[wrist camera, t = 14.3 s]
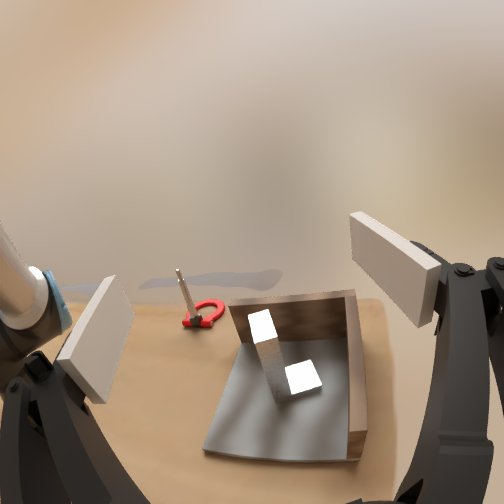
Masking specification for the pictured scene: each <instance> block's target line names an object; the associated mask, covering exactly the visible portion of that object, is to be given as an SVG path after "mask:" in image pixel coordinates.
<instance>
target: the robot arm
mask: <svg viewBox="0 0 504 504" xmlns="http://www.w3.org/2000/svg"><path fill="white" fill-rule="evenodd" d="M349 219H350V232H351V245H352V259H353V260H354V261H355V262H356V263H357V264H358V265H359V266H360V267H361V268H362V269H363V270H364V271H365V272H366V273H367V274H368V275H369V276H370V277H371V278H372V279H373V280H374V281H375V282H376V283H377V284H378V286H379V287H380V288H381V289H382V290H383V291H384V292H385V293H386V294H387V295H388V296H389V297H390V298H391V299H392V300H393V302H394V303H395V304H396V305H397V306H398V307H399V308H400V309H401V310H402V311H403V312H404V313H405V315H406V316H407V317H408V318H409V319H410V320H411V321H412V322H413V324H414V325H415V326H416V327H417V328H419V327H421V326H424V325H426V324H428V323H429V322H431V321H432V316H433V311H434V310H435V311H436V312H437V313H438V314H439V318H438V322H437V326H436V330H435V334H434V335H437V339H436V349H435V359H434V366H433V374H432V381H431V386H430V392H429V397H428V402H427V407H426V411H425V416H424V420H423V424H422V428H421V432H420V436H419V439H418V443H417V446H416V449H415V453H414V456H413V459H412V462H411V465H410V468H409V470H408V472H407V474H406V476H405V477H404V479H403V481H402V483H401V485H400V487H399V489H398V492H397V494H396V496H395V499H394V501H368V502H363V501H362V499H361V498H360V499H358V500H355V501H352V502H349V503H347V504H482V503H483V499H484V496H485V492H486V488H487V484H488V480H489V475H490V471H491V465H492V460H493V452H494V451H493V450H494V446H493V442H492V441H490V440H488V439H487V426H488V425H487V424H488V414H489V394H490V392H489V391H490V370H489V357H490V360H491V364H492V367H493V371H494V374H495V378H496V382H497V386H498V390H499V395H500V400H501V405H502V410H503V415H504V258H501V257H493V258H490V259H489V260H488V261H487V266H486V269H485V270H479V271H476V270H475V269H474V268H473V267H472V266H469V265H467V264H464V263H455V264H452V265H451V264H450V263H448V262H447V261H446V260H444V259H443V258H441V257H440V256H438V255H437V254H434V252H433V251H431V250H428V248H427V247H425V246H424V245H422V244H420V243H417V242H414V241H410V242H409V241H408V240H406V239H405V238H403V237H401V236H400V235H398V234H397V233H395V232H394V231H392V230H391V229H389V228H387V227H386V226H384V225H383V224H381V223H379V222H378V221H376V220H375V219H373V218H371V217H370V216H368V215H366V214H365V213H363V212H361V211H360V212H356V213H352V214H349ZM501 307H502V310H501ZM134 317H135V312H134V310H133V308H132V306H131V305H130V303H129V301H128V299H127V297H126V295H125V293H124V291H123V288H122V286H121V284H120V282H119V280H118V278H117V276H116V275H113V276H110V277H106V278H105V279H104V280H103V282H102V283H101V285H100V286H99V288H98V289H97V291H96V292H95V294H94V296H93V297H92V299H91V300H90V302H89V304H88V305H87V307H86V308H85V310H84V312H83V313H82V315H81V317H80V318H79V320H78V322H77V323H76V325H75V327H74V329H73V330H72V331H71V332H70V333H69V335H68V337H67V338H66V340H65V343H64V344H63V346H62V348H61V349H60V351H59V353H58V355H57V357H56V359H55V361H54V362H53V364H51V363H50V361H49V360H48V359H47V357H46V356H45V355H44V353H43V352H42V351H35V350H36V349H38V348H39V347H41V346H42V345H44V344H46V343H47V342H49V341H50V340H52V339H53V338H55V337H57V336H58V335H62V334H63V332H64V331H65V330H67V329H68V328H70V327H71V325H72V318H71V315H70V313H69V311H68V308H67V306H66V304H65V302H64V300H63V297H62V295H61V293H60V290H59V288H58V286H57V283H56V281H55V279H54V276H53V274H52V273H51V271H49V270H47V271H42V272H40V271H39V270H38V269H36V268H35V267H32V266H29V265H26V264H25V262H24V261H23V259H22V258H21V256H20V254H19V253H18V252H17V250H16V248H15V246H14V245H13V243H12V241H11V239H10V238H9V236H8V234H7V233H6V231H5V229H4V227H3V225H2V224H1V222H0V396H1V398H2V400H3V402H4V404H3V412H2V420H1V430H0V496H1V504H71V502H72V504H151V503H150V502H149V501H148V500H147V499H146V497H145V496H144V495H143V493H142V492H141V491H140V490H139V488H138V487H137V486H136V484H135V483H134V482H133V480H132V479H131V477H130V476H129V475H128V473H127V472H126V470H125V469H124V467H123V466H122V464H121V463H120V461H119V460H118V458H117V457H116V455H115V454H114V452H113V450H112V449H111V447H110V446H109V444H108V442H107V440H106V439H105V437H104V435H103V434H102V432H101V430H100V428H99V426H98V424H97V423H96V421H95V419H94V417H93V415H92V413H91V411H90V409H89V407H88V406H87V404H86V403H85V402H84V399H85V396H87V397H88V398H89V399H90V400H91V402H92V403H93V404H107V400H108V397H109V393H110V390H111V386H112V383H113V380H114V376H115V373H116V370H117V367H118V364H119V360H120V357H121V354H122V351H123V348H124V345H125V342H126V339H127V337H128V334H129V331H130V328H131V325H132V323H133V320H134ZM33 351H35V352H33ZM32 352H33V353H32ZM30 353H31V354H30ZM28 354H30V355H29V356H28V357H27V355H28Z"/></svg>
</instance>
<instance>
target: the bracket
mask: <svg viewBox="0 0 504 504" xmlns="http://www.w3.org/2000/svg"><path fill="white" fill-rule="evenodd" d="M248 317H249V321H250V325H251V330H252V334H253V339H254V343H255V346H256V349H257V352H258V355H259V358H260V361H261V364H262V367H263V369H264V372H265V375H266V378H267V381H268V384H269V387H270V390H271V393H272V395H273V398H274V401H275V404H277V403H281V402H285V401H288V400H291V399H295V398H298V397H301V396H304V395H307V394H311V393H314V392H317V391H319V390H322V384H321V382H320V380H319V378H318V375H317V373H316V371H315V369H314V366H313V364H312V362H311V360H307V361H304V362H301V363H298V364H295V365H291V366H288V367H285V365H284V361H283V357H282V353H281V349H280V345H279V341H278V337H277V334H276V331H275V328H274V326H273V323H272V320H271V317H270V314H269V311H268V310H265V311H261V312H258V313H254V314H250V315H248Z"/></svg>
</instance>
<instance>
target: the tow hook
mask: <svg viewBox="0 0 504 504" xmlns="http://www.w3.org/2000/svg"><path fill="white" fill-rule="evenodd" d="M176 273H177V276H178V279H179V280H178V282H179V284H180V287H181V290H182V292H183V295H184V298H185V300H186V303H187V308H188V311H187V318H186V319H184V320H183V321H182V324H183V326H193V327H212V326H213V321H214V320H216V319H217V318H219V317H220V316H221V315H222V314H223V312H224V310H225V306H224V303H223V302H222V301H220V300H217V299H209V300H204V301H201V302H198V303H196V304H195V305H194V303H193V302H192V299H191V297H190V294H189V291H188V289H187V286H186V283H185V280H184V279H183V278H182V275H181V272H180V270H179V269H177V270H176ZM207 305H214V306H217V310H216V311H215V312H214V313H213V314H211V315H209V316H206V317H205V318H204V320H203V319H202V316H201V314H198V313H197V310H198V309H199V308H201V307H204V306H207Z"/></svg>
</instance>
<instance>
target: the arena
mask: <svg viewBox="0 0 504 504" xmlns="http://www.w3.org/2000/svg"><path fill="white" fill-rule="evenodd" d="M228 307H229V310H230V313H231V315H232V318H233V321H234V324H235V326H236V329H237V332H238V335H239V337H240V340H241V346H240V348H239V351H238V354H237V357H236V359H235V362H234V365H233V368H232V370H231V373H230V376H229V378H228V381H227V384H226V387H225V389H224V392H223V395H222V397H221V400H220V403H219V405H218V408H217V411H216V413H215V416H214V418H213V421H212V424H211V426H210V429H209V431H208V434H207V437H206V439H205V442H204V444H203V447H202V449H203V450H204V451H205V452H209V453H215V454H220V455H226V456H232V457H239V458H247V459H255V460H266V461H279V462H302V463H323V462H346V461H359V460H360V458H361V454H362V450H363V447H364V443H365V438H366V434H367V398H366V381H365V368H364V357H363V346H362V337H361V329H360V321H359V314H358V306H357V300H356V293H355V289H352V290H343V291H333V292H323V293H312V294H302V295H290V296H278V297H265V298H250V299H234V300H231V301H230V303H229V305H228ZM265 310H268V311H269V314H270V317H271V320H272V323H273V326H274V328H275V331H276V334H277V337H278V341H279V345H280V349H281V353H282V357H283V361H284V365H285V367H288V366H291V365H295V364H298V363H301V362H304V361H307V360H311V362H312V364H313V366H314V369H315V371H316V373H317V375H318V378H319V380H320V382H321V384H322V390H319V391H317V392H314V393H311V394H307V395H304V396H301V397H298V398H295V399H291V400H288V401H285V402H281V403H277V404H275V401H274V398H273V395H272V393H271V390H270V387H269V384H268V381H267V378H266V375H265V372H264V369H263V367H262V364H261V361H260V358H259V355H258V352H257V349H256V346H255V343H254V339H253V334H252V330H251V325H250V321H249V317H248V315H250V314H254V313H258V312H261V311H265Z"/></svg>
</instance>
